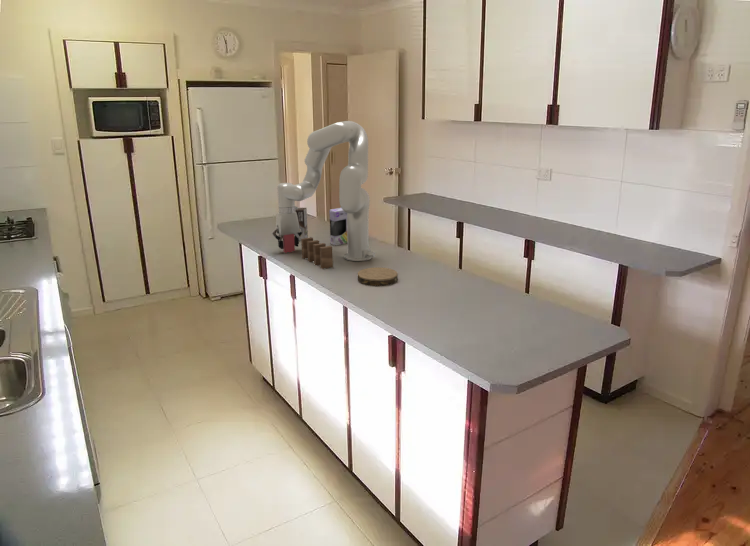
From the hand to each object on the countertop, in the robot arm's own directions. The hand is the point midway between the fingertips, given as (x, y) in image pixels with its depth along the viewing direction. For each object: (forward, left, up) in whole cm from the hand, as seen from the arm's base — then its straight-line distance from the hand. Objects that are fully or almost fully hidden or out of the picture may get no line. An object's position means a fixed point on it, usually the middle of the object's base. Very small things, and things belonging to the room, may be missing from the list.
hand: (288, 247), depth 255 cm
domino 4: (-30, +11, -2) cm, 32 cm away
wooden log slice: (-58, +13, -3) cm, 59 cm away
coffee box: (+11, -21, -3) cm, 24 cm away
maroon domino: (0, 0, -2) cm, 2 cm away
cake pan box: (-13, -29, -3) cm, 32 cm away
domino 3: (-25, +8, -2) cm, 26 cm away
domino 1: (-14, +3, -2) cm, 15 cm away
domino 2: (-19, +6, -2) cm, 20 cm away
